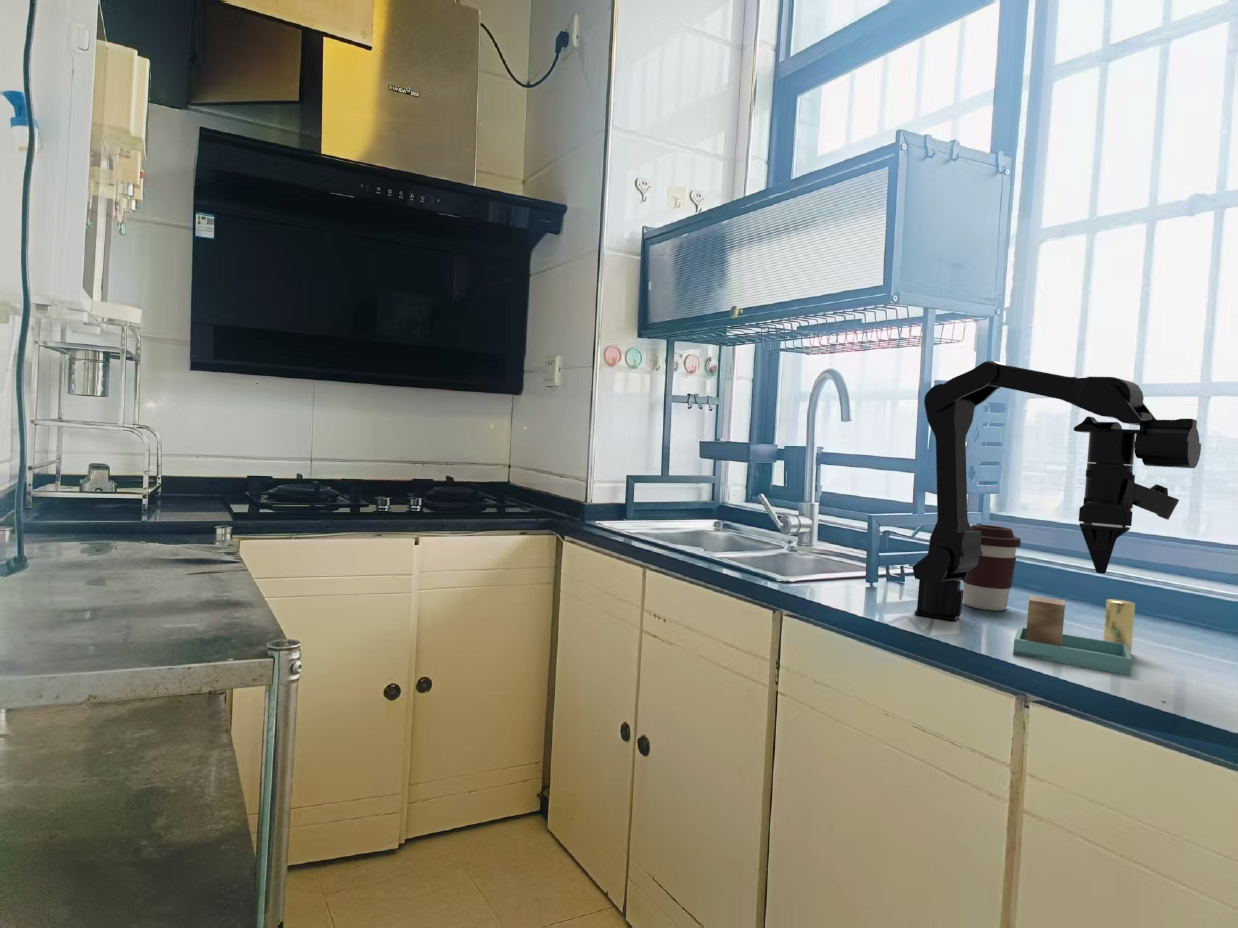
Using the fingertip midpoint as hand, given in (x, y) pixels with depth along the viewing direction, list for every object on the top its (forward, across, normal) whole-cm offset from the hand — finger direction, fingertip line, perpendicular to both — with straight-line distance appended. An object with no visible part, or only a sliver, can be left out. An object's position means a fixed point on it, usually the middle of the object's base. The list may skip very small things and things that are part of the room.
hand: (1101, 569), depth 115 cm
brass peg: (+12, +4, -3) cm, 13 cm away
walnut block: (+12, -6, +6) cm, 15 cm away
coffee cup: (+12, +24, +18) cm, 32 cm away
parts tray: (+12, -6, +3) cm, 14 cm away
